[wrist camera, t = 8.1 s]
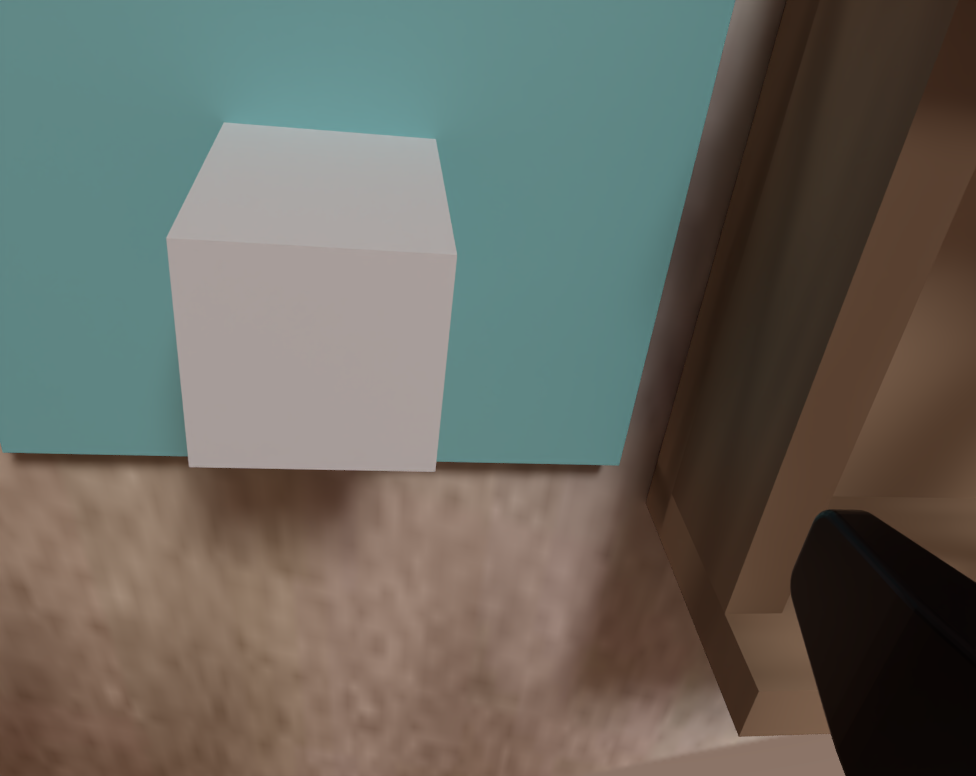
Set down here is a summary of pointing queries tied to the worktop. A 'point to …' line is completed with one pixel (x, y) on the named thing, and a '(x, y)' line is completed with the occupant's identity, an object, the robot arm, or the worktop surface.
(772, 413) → the walnut box
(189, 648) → the worktop surface
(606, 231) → the cover plate
